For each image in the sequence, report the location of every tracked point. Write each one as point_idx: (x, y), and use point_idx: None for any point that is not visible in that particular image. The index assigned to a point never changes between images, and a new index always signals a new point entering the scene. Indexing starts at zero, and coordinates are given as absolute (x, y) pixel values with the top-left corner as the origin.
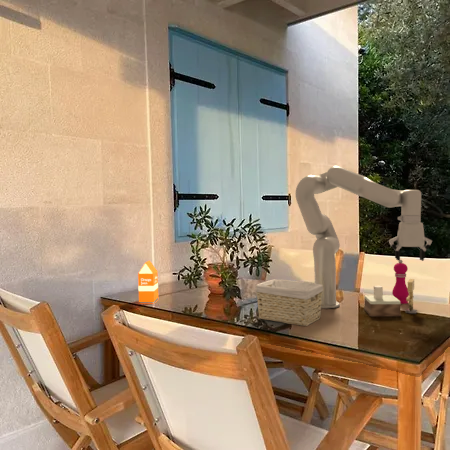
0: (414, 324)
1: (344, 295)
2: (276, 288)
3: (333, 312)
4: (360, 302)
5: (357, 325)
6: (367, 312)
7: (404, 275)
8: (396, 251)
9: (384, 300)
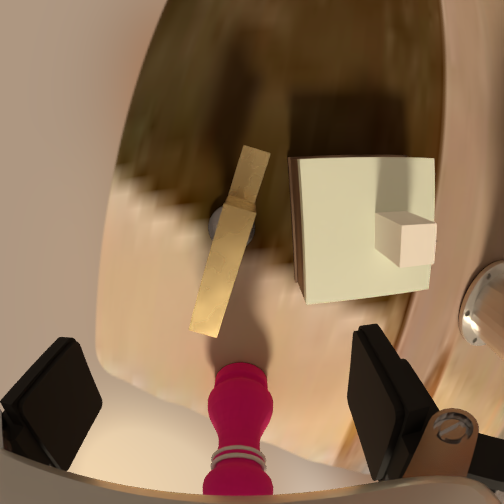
0: (259, 40)
1: None
2: None
3: (494, 213)
4: None
5: (445, 44)
6: None
7: (222, 454)
8: (439, 414)
9: (374, 175)
